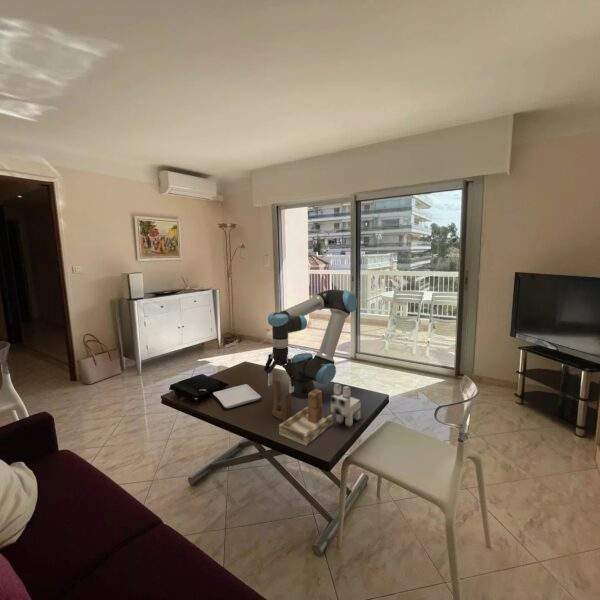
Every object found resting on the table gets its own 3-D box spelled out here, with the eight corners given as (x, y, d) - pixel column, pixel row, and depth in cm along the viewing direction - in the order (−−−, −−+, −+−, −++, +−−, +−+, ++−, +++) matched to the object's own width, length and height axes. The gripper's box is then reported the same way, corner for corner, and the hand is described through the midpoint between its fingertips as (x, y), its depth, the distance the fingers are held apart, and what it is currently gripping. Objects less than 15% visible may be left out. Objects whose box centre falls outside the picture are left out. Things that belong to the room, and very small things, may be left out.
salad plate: (225, 412, 165) (224, 406, 165) (212, 397, 183) (212, 391, 182) (262, 402, 177) (261, 396, 176) (246, 388, 194) (246, 383, 194)
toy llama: (362, 416, 159) (363, 378, 156) (344, 431, 146) (344, 390, 143) (349, 412, 164) (350, 375, 161) (330, 426, 150) (330, 386, 148)
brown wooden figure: (286, 423, 154) (285, 387, 151) (272, 415, 161) (271, 381, 159) (291, 420, 156) (291, 385, 154) (277, 412, 164) (276, 379, 161)
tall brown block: (315, 415, 157) (315, 389, 155) (322, 418, 155) (322, 391, 153) (308, 420, 152) (308, 393, 151) (315, 423, 150) (315, 395, 148)
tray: (307, 414, 162) (307, 406, 161) (332, 423, 153) (332, 415, 152) (279, 434, 144) (278, 425, 143) (305, 445, 135) (305, 436, 135)
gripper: (256, 344, 158) (257, 384, 161) (296, 353, 143) (296, 397, 146) (266, 340, 164) (267, 380, 167) (305, 349, 149) (305, 392, 152)
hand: (280, 388), depth 156 cm, fingers open, 13 cm apart
